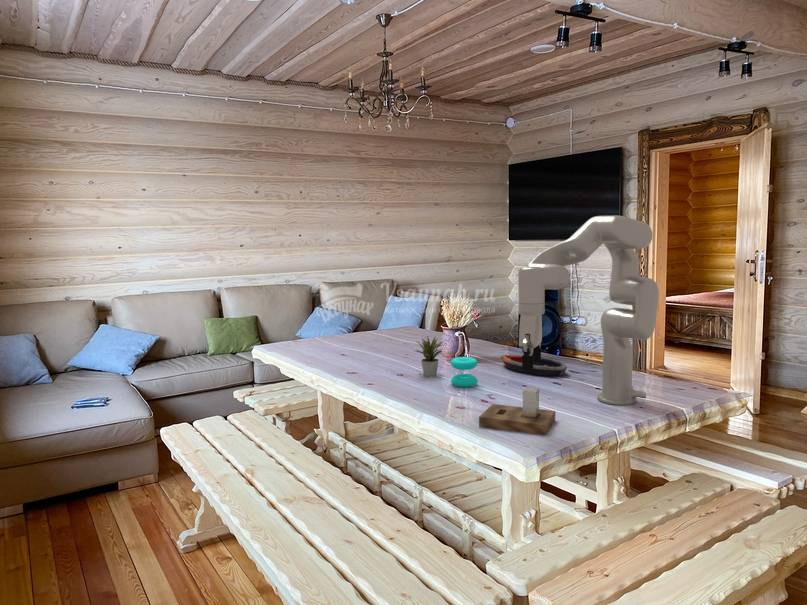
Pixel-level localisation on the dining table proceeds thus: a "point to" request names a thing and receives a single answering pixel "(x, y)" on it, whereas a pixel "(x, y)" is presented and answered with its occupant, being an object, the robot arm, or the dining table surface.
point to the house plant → (430, 356)
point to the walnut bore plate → (516, 419)
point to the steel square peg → (531, 403)
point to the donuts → (464, 379)
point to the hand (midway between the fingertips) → (531, 364)
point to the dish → (535, 366)
